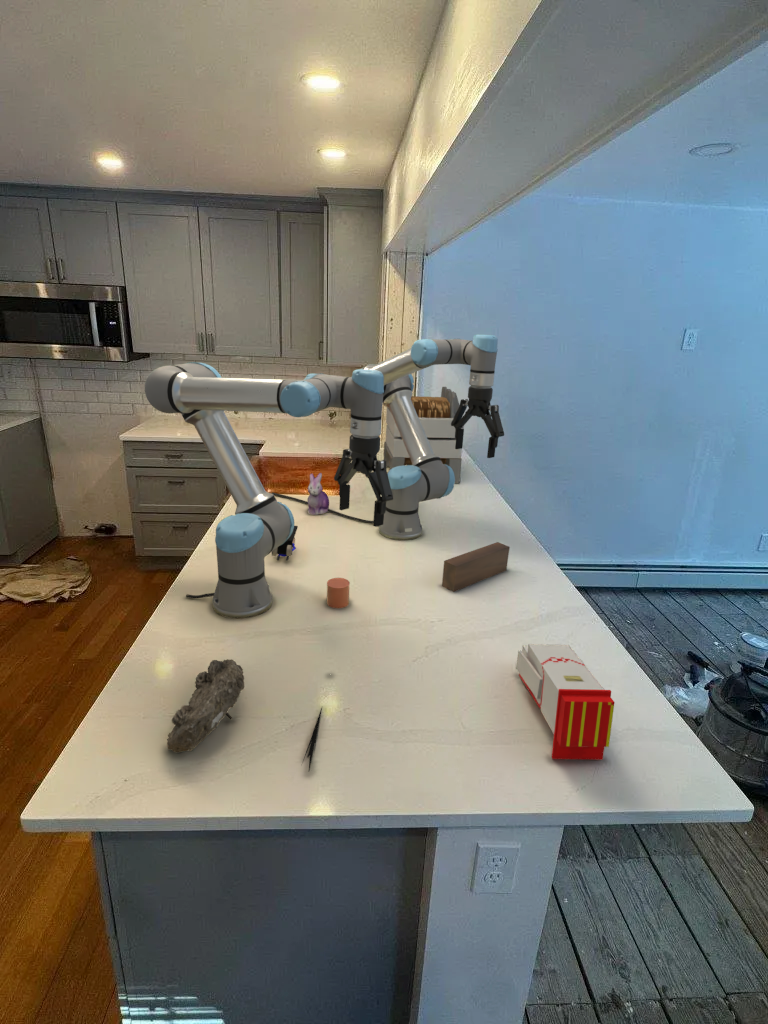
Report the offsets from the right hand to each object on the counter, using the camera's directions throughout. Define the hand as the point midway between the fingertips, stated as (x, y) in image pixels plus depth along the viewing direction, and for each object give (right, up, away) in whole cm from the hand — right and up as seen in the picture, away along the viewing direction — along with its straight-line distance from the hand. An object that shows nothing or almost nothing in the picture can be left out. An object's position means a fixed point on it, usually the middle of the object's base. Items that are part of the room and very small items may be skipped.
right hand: (474, 453), depth 184 cm
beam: (-2, -39, -15) cm, 42 cm away
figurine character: (-61, -33, -5) cm, 69 cm away
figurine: (-55, -19, +34) cm, 67 cm away
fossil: (-62, -58, -76) cm, 114 cm away
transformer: (-12, 0, +91) cm, 92 cm away
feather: (-42, -59, -75) cm, 104 cm away
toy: (+5, -59, -70) cm, 91 cm away
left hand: (-35, -20, -39) cm, 56 cm away
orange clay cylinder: (-42, -43, -32) cm, 68 cm away
